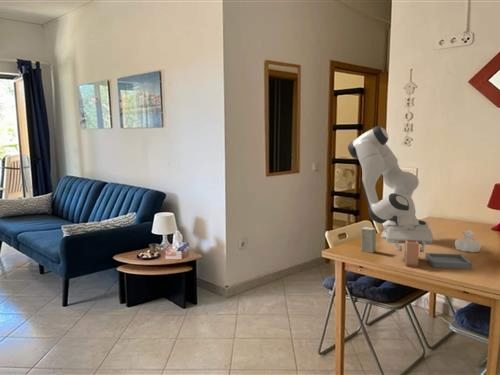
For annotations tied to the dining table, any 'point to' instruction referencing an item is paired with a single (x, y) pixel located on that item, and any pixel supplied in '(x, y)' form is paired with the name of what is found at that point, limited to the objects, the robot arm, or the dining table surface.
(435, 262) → the tray
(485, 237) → the dining table surface
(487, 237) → the dining table surface
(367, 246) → the skincare box
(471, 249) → the bust
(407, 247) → the cup
